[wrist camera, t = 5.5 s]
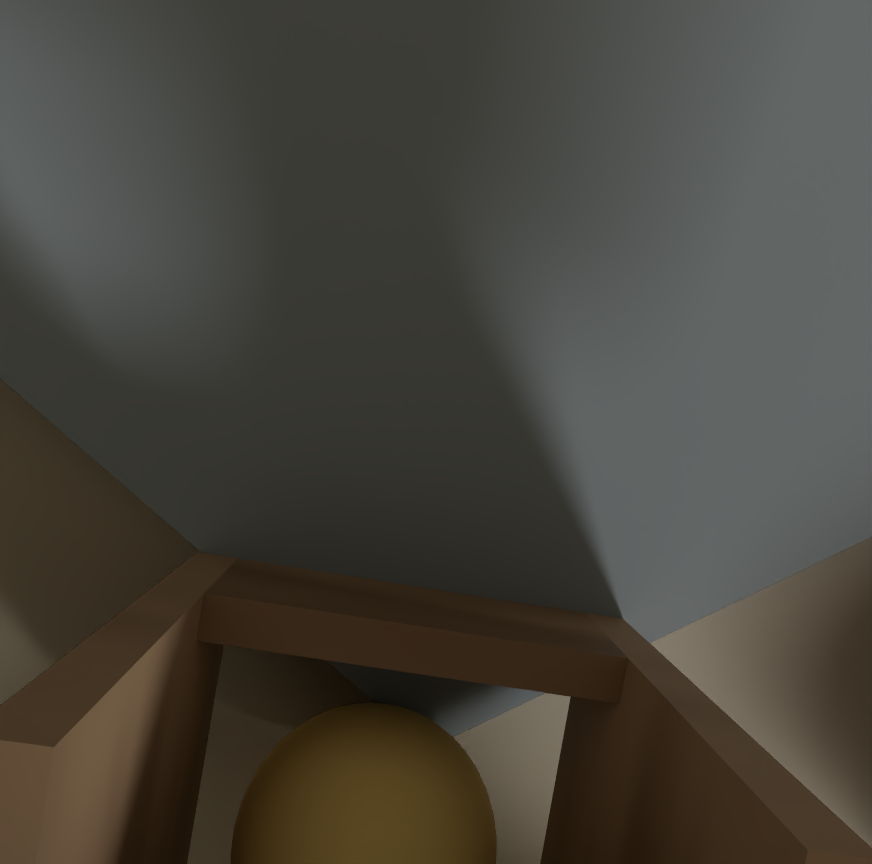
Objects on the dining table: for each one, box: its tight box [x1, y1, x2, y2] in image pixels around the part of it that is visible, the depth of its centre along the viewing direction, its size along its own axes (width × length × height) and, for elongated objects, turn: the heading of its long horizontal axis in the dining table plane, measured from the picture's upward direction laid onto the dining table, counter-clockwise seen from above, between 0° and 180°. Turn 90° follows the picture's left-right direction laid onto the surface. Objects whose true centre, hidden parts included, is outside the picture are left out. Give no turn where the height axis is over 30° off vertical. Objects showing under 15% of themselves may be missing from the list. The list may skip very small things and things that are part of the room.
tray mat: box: [0, 0, 872, 737], centre depth 7 cm, size 16×16×1 cm
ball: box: [231, 703, 496, 864], centre depth 11 cm, size 4×4×4 cm
